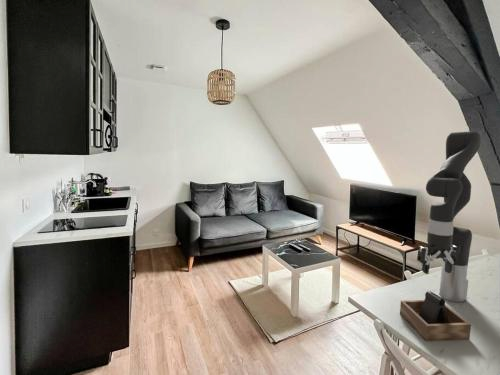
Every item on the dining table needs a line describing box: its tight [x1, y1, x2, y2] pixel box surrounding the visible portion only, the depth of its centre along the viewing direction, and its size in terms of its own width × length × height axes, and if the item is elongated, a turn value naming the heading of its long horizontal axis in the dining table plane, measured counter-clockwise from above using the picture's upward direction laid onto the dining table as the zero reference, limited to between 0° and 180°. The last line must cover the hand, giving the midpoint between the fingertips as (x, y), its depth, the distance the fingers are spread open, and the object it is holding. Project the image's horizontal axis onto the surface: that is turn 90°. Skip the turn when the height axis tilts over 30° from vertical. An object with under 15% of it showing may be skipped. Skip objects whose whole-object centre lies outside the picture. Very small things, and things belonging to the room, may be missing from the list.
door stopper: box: [419, 290, 449, 324], centre depth 102 cm, size 9×6×12 cm, turn 100°
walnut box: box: [399, 299, 472, 342], centre depth 103 cm, size 16×16×6 cm
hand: (436, 272), depth 100 cm, fingers open, 8 cm apart
